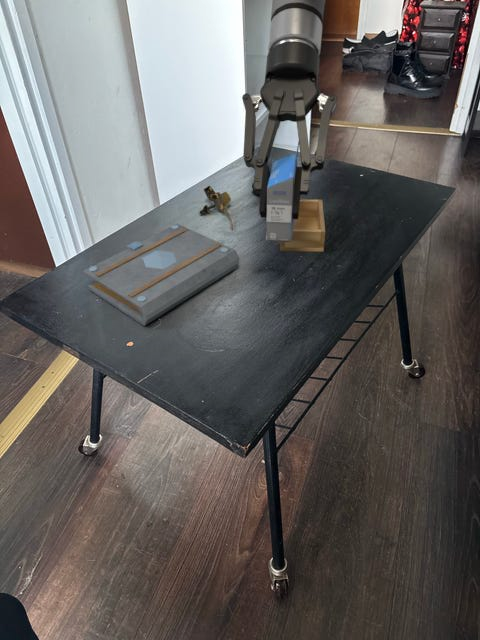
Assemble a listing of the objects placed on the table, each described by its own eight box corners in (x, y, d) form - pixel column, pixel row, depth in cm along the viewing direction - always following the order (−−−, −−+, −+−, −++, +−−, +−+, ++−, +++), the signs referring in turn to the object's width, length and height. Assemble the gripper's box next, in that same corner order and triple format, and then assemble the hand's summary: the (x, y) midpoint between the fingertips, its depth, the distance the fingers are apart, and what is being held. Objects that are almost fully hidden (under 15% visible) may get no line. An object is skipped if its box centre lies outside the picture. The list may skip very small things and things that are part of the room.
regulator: (248, 229, 98) (224, 190, 107) (243, 216, 95) (218, 176, 104) (216, 246, 98) (194, 205, 107) (209, 233, 95) (188, 192, 104)
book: (148, 330, 73) (142, 305, 70) (87, 290, 82) (80, 265, 79) (239, 271, 85) (238, 247, 82) (178, 241, 94) (175, 218, 90)
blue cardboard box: (270, 212, 75) (272, 133, 67) (295, 213, 75) (300, 133, 67) (264, 241, 68) (266, 157, 60) (292, 242, 68) (296, 158, 60)
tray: (320, 218, 99) (322, 199, 96) (323, 251, 89) (325, 231, 86) (281, 218, 100) (282, 199, 97) (280, 251, 90) (280, 230, 87)
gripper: (351, 72, 70) (339, 226, 68) (239, 71, 73) (224, 220, 71) (356, 37, 63) (342, 209, 61) (231, 38, 65) (214, 203, 64)
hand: (278, 215), depth 66 cm, fingers closed on blue cardboard box, 4 cm apart
